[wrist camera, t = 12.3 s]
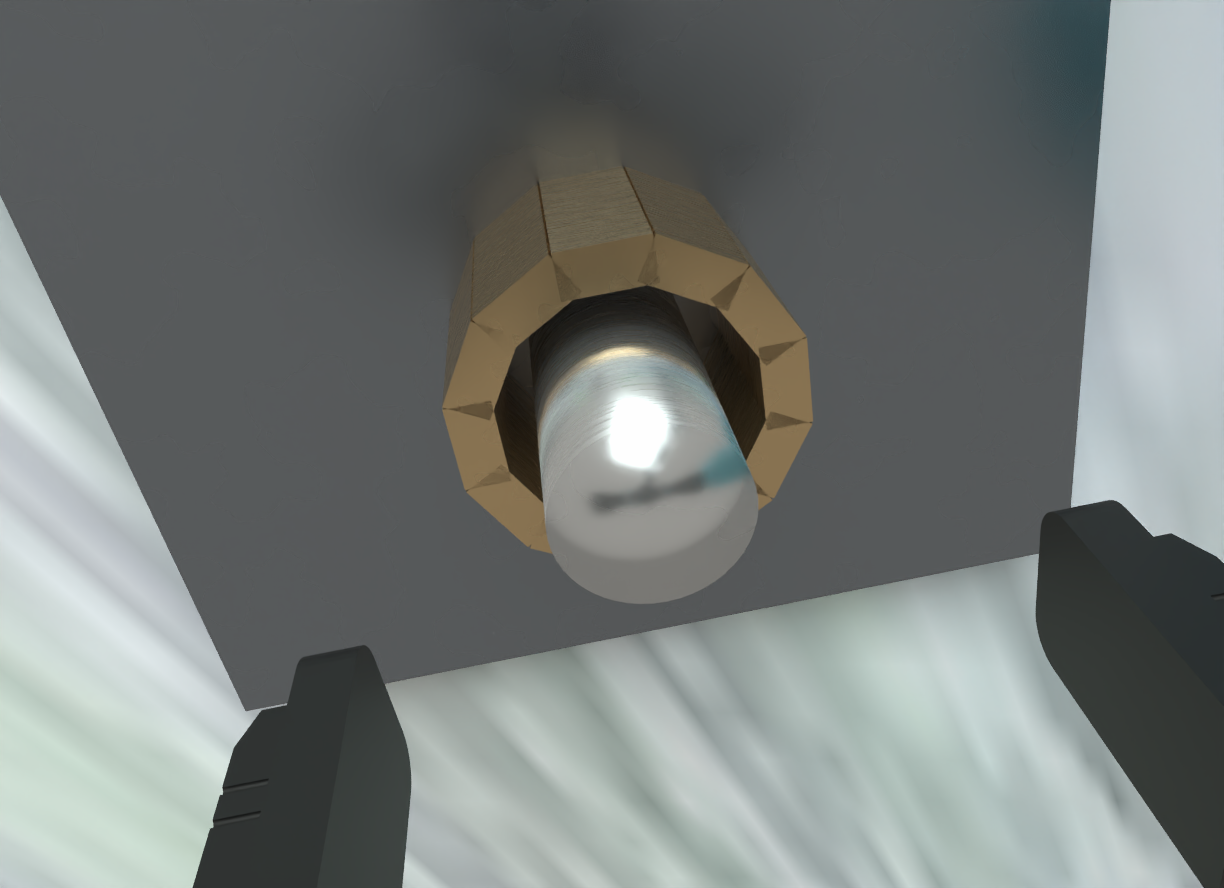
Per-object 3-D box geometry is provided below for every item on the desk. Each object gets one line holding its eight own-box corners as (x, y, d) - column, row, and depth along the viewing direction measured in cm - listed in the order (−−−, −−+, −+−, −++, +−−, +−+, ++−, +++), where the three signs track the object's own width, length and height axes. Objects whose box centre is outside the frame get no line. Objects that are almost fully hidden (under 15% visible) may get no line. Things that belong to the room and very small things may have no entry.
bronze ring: (740, 143, 19) (797, 205, 15) (767, 422, 22) (820, 527, 18) (420, 205, 19) (406, 281, 15) (492, 477, 22) (493, 592, 18)
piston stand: (1068, -236, 18) (1509, -315, 10) (1028, 502, 26) (1259, 771, 18) (-42, -25, 18) (-451, 57, 10) (262, 654, 26) (165, 993, 18)
